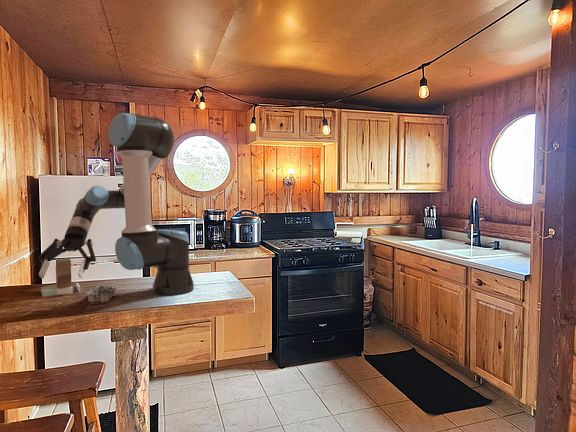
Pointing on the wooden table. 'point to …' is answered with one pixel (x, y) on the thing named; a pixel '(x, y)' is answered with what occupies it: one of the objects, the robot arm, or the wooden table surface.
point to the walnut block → (63, 273)
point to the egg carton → (101, 293)
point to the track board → (58, 290)
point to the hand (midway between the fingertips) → (60, 276)
